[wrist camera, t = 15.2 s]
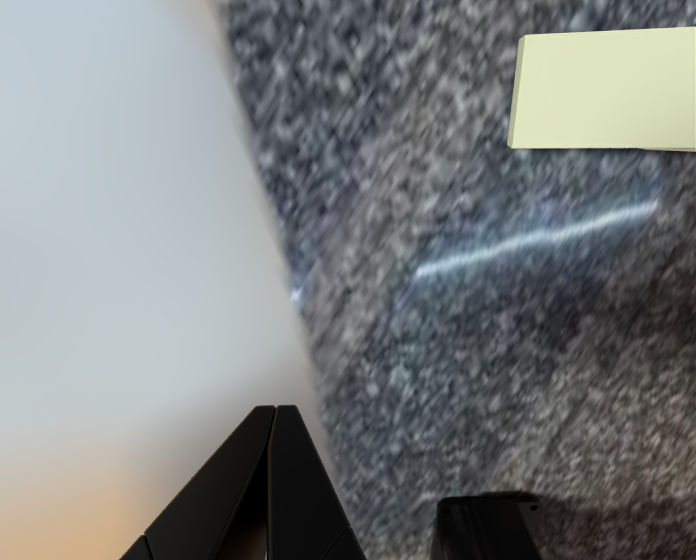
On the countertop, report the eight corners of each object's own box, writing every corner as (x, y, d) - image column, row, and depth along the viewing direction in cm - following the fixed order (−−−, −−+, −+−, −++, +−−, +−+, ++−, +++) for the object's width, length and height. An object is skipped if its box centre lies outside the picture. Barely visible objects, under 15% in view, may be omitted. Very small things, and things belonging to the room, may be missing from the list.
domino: (507, 144, 19) (703, 143, 17) (512, 148, 17) (724, 147, 16) (519, 39, 17) (736, 29, 16) (525, 34, 16) (762, 23, 14)
